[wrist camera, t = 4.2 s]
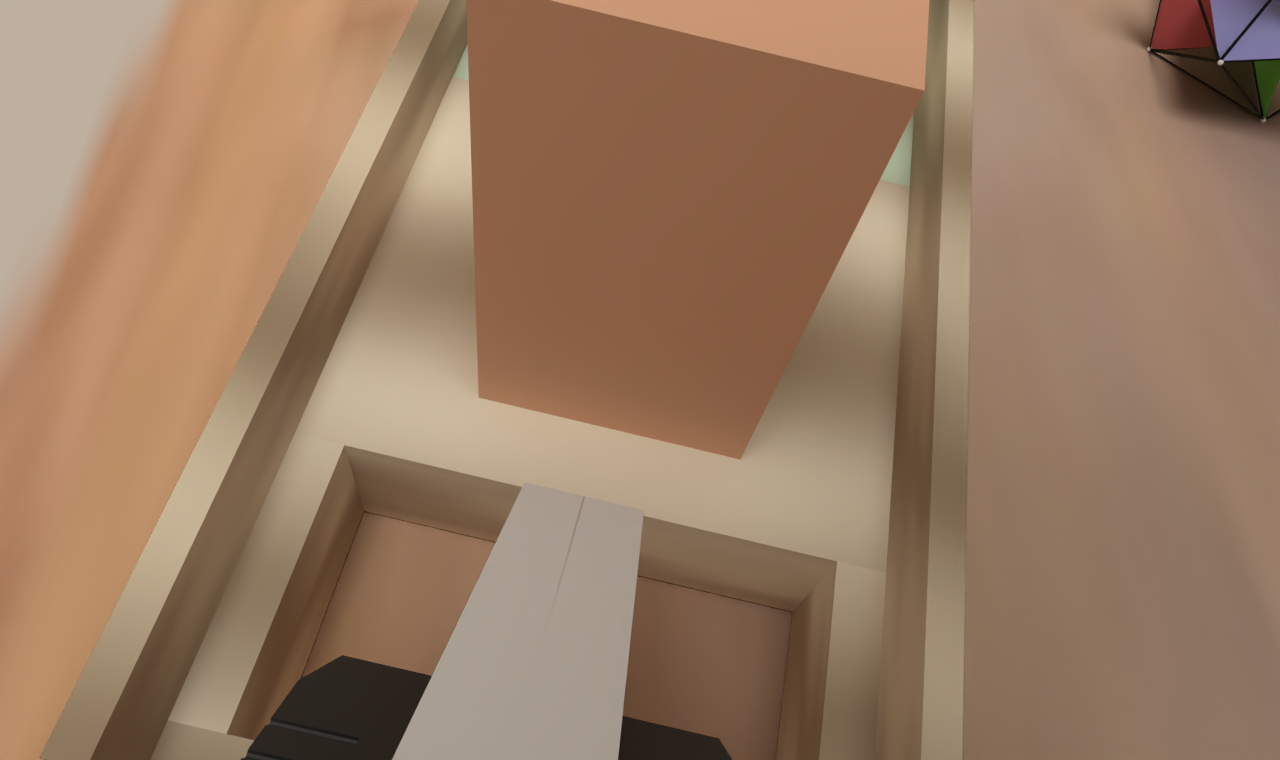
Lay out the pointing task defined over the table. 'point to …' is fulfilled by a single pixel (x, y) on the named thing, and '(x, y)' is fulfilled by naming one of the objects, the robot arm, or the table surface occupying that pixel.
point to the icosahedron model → (1225, 38)
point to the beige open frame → (565, 447)
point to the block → (672, 195)
